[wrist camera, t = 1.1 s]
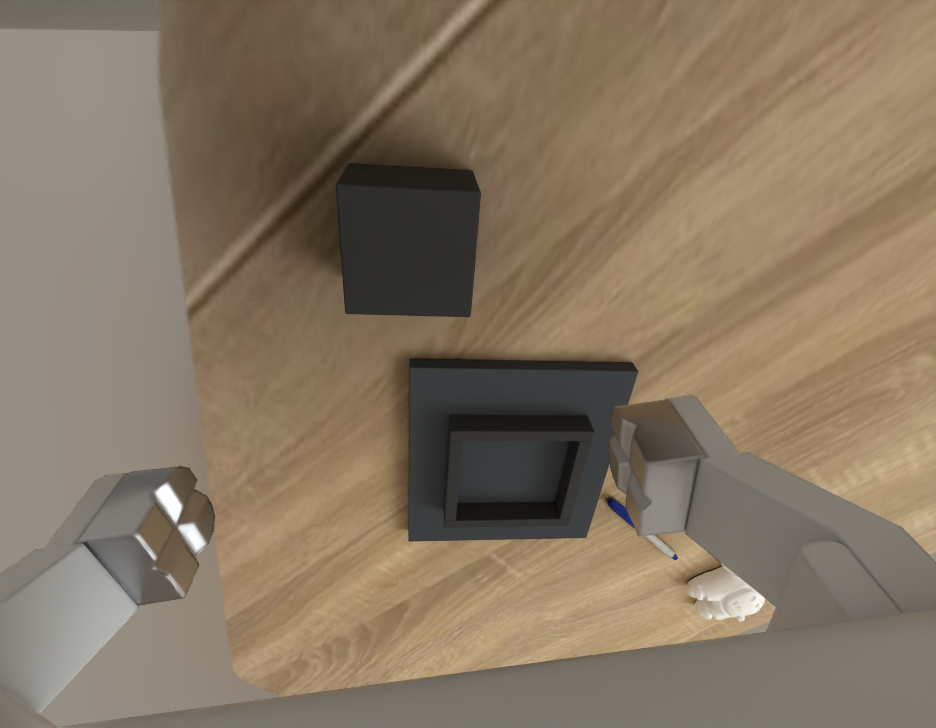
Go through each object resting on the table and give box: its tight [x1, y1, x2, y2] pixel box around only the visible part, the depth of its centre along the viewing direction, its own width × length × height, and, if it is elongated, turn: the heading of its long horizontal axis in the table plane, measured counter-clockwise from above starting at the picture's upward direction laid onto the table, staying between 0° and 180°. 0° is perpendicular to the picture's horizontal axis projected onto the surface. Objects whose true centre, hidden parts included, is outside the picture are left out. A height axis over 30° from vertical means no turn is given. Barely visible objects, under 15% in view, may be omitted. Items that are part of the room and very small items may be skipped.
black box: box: [336, 163, 481, 317], centre depth 24 cm, size 6×6×4 cm
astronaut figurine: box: [687, 563, 765, 622], centre depth 44 cm, size 9×12×3 cm
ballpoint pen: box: [607, 499, 678, 560], centre depth 40 cm, size 10×1×1 cm, turn 44°
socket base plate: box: [409, 359, 638, 541], centre depth 34 cm, size 14×16×3 cm
